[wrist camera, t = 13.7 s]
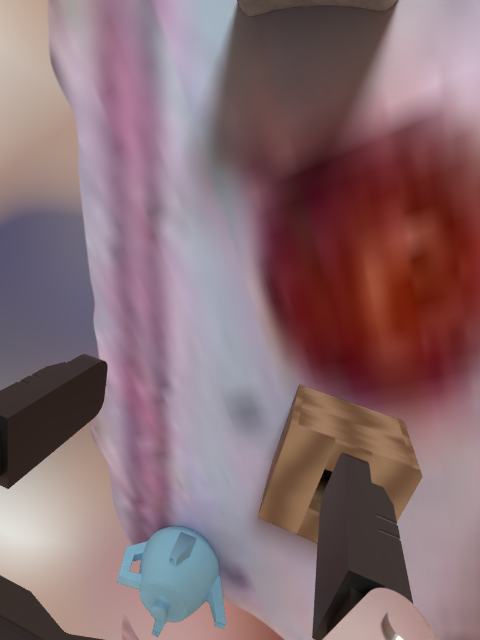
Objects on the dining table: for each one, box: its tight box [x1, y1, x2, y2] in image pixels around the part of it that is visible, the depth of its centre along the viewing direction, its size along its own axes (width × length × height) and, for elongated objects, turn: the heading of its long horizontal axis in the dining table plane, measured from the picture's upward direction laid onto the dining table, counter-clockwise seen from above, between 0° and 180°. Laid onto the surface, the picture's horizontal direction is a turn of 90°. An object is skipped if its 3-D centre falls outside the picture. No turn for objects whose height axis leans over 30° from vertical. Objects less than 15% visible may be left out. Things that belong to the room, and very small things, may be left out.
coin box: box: [258, 385, 422, 543], centre depth 42 cm, size 14×14×10 cm
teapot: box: [117, 526, 226, 637], centre depth 56 cm, size 15×15×11 cm
